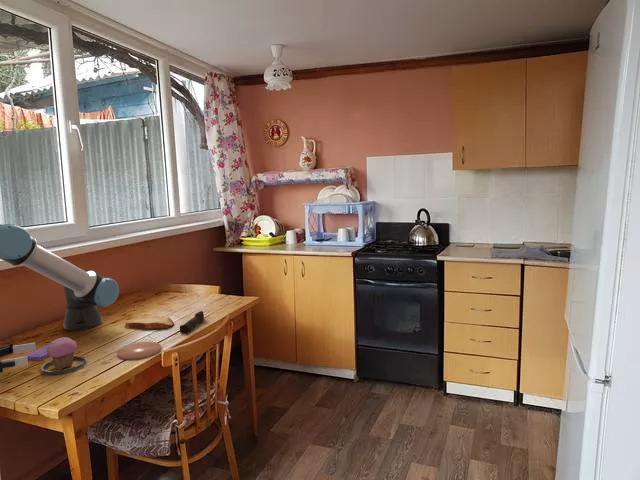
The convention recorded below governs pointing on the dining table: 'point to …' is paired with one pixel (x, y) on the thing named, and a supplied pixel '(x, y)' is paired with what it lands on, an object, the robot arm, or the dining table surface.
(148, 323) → the slice of bread
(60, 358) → the cupcake
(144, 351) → the plate
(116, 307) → the dining table surface
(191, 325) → the hand tool
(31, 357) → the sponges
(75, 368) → the dark grey ring
